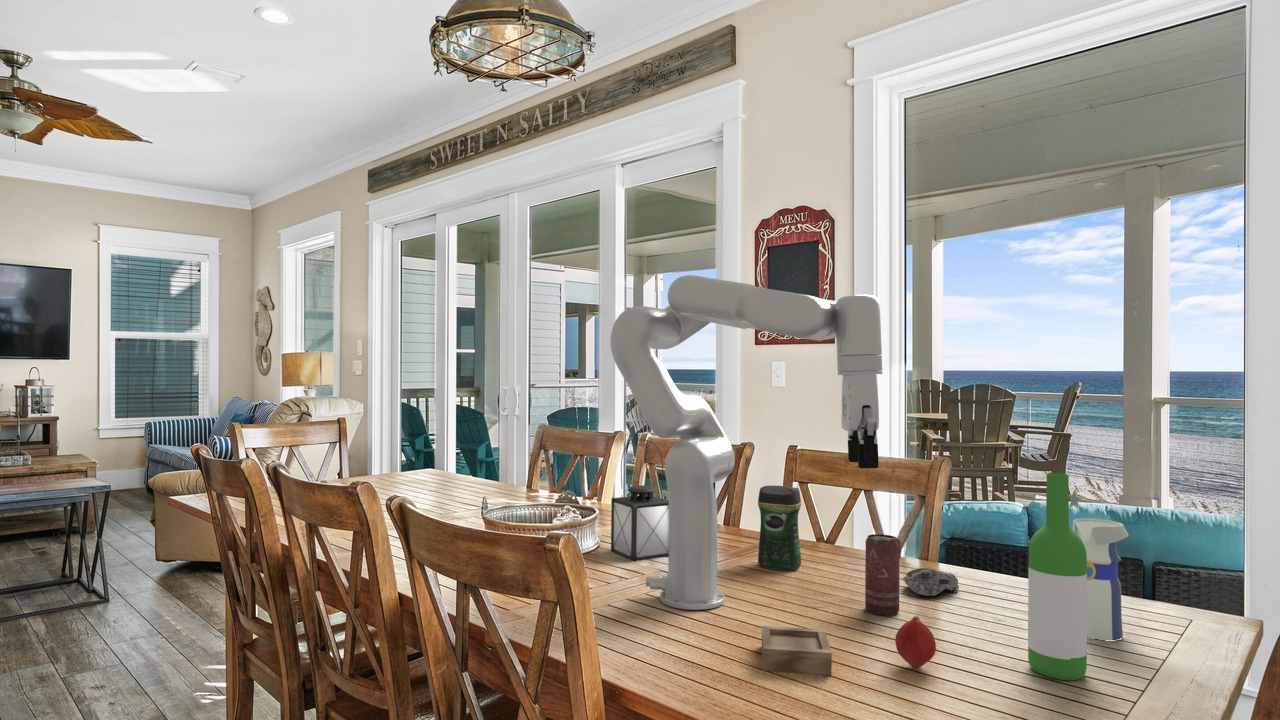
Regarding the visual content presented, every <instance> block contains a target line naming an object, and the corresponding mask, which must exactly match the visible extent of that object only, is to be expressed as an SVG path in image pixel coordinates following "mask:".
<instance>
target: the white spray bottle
mask: <svg viewBox="0 0 1280 720" xmlns="http://www.w3.org/2000/svg"><path fill="white" fill-rule="evenodd" d="M1069 499H1070V503H1069V508H1072V507H1075V508H1076V509H1077V510H1079V508H1080V507H1079V501H1081V500H1082V499H1083V498H1082V497H1080V496H1079V495H1078V494H1077V490H1076V489H1074V490H1073V492H1072V494H1070V493H1069ZM1072 522H1073V523H1072V530H1073V531H1074V532H1075V533H1076V534H1077V535H1078V536H1079V537H1080V538H1081V540H1082V542H1083V544H1084V546H1085V549H1086V553H1087V639H1090V638H1091V640H1094V639H1099V640H1098V641H1100V640H1116V639H1120V638H1122V637H1123V638H1124V634H1123V633H1124V632H1123V618H1122V617H1123V616H1122V615H1123V614H1122V586H1121V582H1120V580H1119V562H1121V561H1122V559H1121V557H1120V556H1119V554H1118V550H1117V545H1118V544H1117V543H1118V542H1120V541H1122V540H1124V539H1126V538H1128V537H1129V533H1128V531H1127V530H1126V528H1125V525H1124V524H1123V523H1122V522H1118V521H1114V520H1110V519H1109V520H1108V519H1103V518H1087V517H1086V518H1076V519H1074V520H1073V521H1072Z"/></svg>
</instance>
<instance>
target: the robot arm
mask: <svg viewBox="0 0 1280 720" xmlns="http://www.w3.org/2000/svg"><path fill="white" fill-rule="evenodd" d="M667 302H668V306H666V307H665V308H657V307H652V306H645V305H643V306H640V305H639V306H632V307H629V308H627V309H625V310H623V311H622V312H621V313H620V314H619V315H618V316H617V318H616V319H615V321H614V323H613V325H612V329H611V333H610V350H611V355H612V358H613V361H614V362H615V365H616V366H617V369H618V371H619V372H620V374H621V376H622V378H623V379H624V381H625V382H626V384H627V386H628V388H629V390H630V391H631V394H632V397H633V398H634V400H635V402H636V404H637V406H638V408H639V410H640V413H642V415H643V417H644V419H645V422H646V423H647V425H648V427H649V428H650V430H651V431H652V433H653V434H654V435H655V436H657V437H658V438H662V439H676V438H679V440H680V441H679V442H677V443H675V444H674V445H673V446H672V447H671V448H670V449H669V450H668V452H667V454H666V457H665V461H664V475H665V481H666V486H667V494H668V495H667V497H668V499H667V500H668V501H669V551H668V559H667V560H668V561H667V562H668V563H667V564H668V565H667V569H668V570H667V571H668V572H667V574H666V575H661V577H655V576H646V578H645V587H650V590H661V592H660V594H659V600H660V602H661V603H662V604H664V605H666V606H668V607H672V608H675V609H679V610H680V609H681V610H686V611H687V610H689V611H690V610H691V611H703V610H710V609H715V608H718V607H720V606H723V604H724V603H725V601H726V600H725V594H724V592H722V591H721V590H718V588H717V587H718V584H717V583H718V504H717V502H718V501H717V497H716V494H715V488H714V487H715V486H714V483H717V482H719V481H722V480H725V479H726V478H727V477H728V476H729V475H730V474H732V472H733V470H734V467H735V464H736V463H735V462H736V457H735V455H736V454H735V451H734V448H733V446H732V444H731V442H730V440H729V438H728V437H727V435H726V433H725V431H724V429H723V428H722V425H721V424H720V422H719V421H718V419H717V417H716V414H715V413H714V411H713V410H712V408H711V406H710V405H709V403H708V402H707V401H706V400H705V399H704V398H703V397H702V396H701V395H700V394H698V393H696V392H694V391H691V390H680V389H679V388H678V387H677V385H676V383H675V382H674V381H673V379H672V377H671V375H670V373H669V372H668V368H666V366H665V365H664V363H663V362H662V361H661V360H660V359H659V358H658V357H657V356H656V354H655V353H654V351H653V350H655V349H656V350H668V349H669V350H670V349H672V348H674V347H677V346H678V345H680V344H682V343H683V342H685V341H686V340H688V339H689V338H691V337H693V336H694V335H695V334H697V333H698V332H700V331H701V330H702V329H704V328H705V327H706V326H708V325H709V324H711V323H712V324H717V325H723V326H728V327H731V328H736V329H737V328H738V329H742V330H743V329H744V330H746V329H747V330H748V329H752V330H757V331H763V332H767V333H774V334H778V335H782V336H788V337H793V338H798V339H805V340H811V341H825V340H826V341H827V340H831V339H836V340H835V341H836V361H837V363H836V365H837V376H842V383H841V428H842V429H843V431H844V430H845V431H846V432H847V433H848V434H847V437H848V438H847V455H848V456H847V457H848V458H847V459H848V462H850V463H857V466H858V468H859V469H878V468H879V464H880V463H879V444H878V437H877V436H878V435H877V431H878V430H879V428H880V427H879V426H880V412H879V411H880V408H879V405H880V404H879V394H878V393H879V391H878V387H879V385H878V377H877V375H883V355H882V354H883V353H882V352H883V350H882V348H883V347H882V327H881V326H882V323H881V321H882V320H881V304H880V300H879V298H878V297H877V296H875V295H871V294H853V295H846V296H845V295H844V296H842V297H840V298H838V299H837V300H830V299H823V298H821V297H817V296H814V295H813V296H812V295H808V294H803V293H798V292H796V293H795V292H789V291H785V290H777V289H771V288H764V287H758V286H755V285H754V284H750V283H746V282H745V283H744V282H737V281H733V280H725V279H719V278H718V279H717V278H713V277H707V276H699V275H694V274H686V275H682V276H679V277H677V278H676V279H675V280H673V281H672V282H671V284H670V285H669V288H668V291H667Z"/></svg>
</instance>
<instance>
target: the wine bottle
mask: <svg viewBox="0 0 1280 720" xmlns="http://www.w3.org/2000/svg"><path fill="white" fill-rule="evenodd" d="M1069 480H1070V479H1069V475H1068V473H1065V472H1064V473H1063V472H1055V471H1054V472H1053V471H1052V472H1047V473H1046V493H1045V494H1046V497H1045V498H1046V500H1045V502H1046V503H1045V505H1046V506H1045V507H1046V510H1045V524H1044V525H1043V526H1042V527H1041V528H1040V529H1037V530H1036V532H1035V533H1034V534H1033V535H1032V537H1031V538H1030V541H1029V544H1028V576H1027V577H1028V579H1027V581H1028V583H1027V585H1028V586H1027V587H1028V589H1027V591H1028V595H1027V597H1028V600H1027V601H1028V602H1027V604H1028V605H1027V609H1028V610H1027V612H1028V613H1027V617H1028V618H1027V623H1028V624H1027V646H1028V647H1027V648H1028V653H1027V655H1028V664H1029V666H1030V667H1031V669H1032V670H1033V671H1035V673H1038V674H1039V675H1042V676H1044V677H1047V678H1049V679H1055V680H1060V681H1076V680H1078V681H1079V680H1080V679H1082V678H1083V677H1084V676H1085V675H1086V673H1087V665H1088V664H1087V662H1088V661H1087V660H1088V659H1087V655H1088V638H1087V553H1086V549H1085V546H1084V544H1083V542H1082V540H1081V538H1080V537H1079V536H1078V535H1077V532H1076V531H1075V532H1074V531H1073V528H1071V527H1070V521H1069V520H1070V515H1069V514H1070V503H1069V502H1070V500H1069V499H1070V498H1069V494H1070V491H1069V489H1070V488H1069V484H1070V483H1069V482H1070V481H1069Z"/></svg>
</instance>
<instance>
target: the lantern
mask: <svg viewBox="0 0 1280 720" xmlns="http://www.w3.org/2000/svg"><path fill="white" fill-rule="evenodd" d="M637 441H646V442H648V443H651V444H652V445H654V446H655V448H656V449H657V450H658V453H659V455H660V460H661V471H662V473H661V474H662V476H661V478H662V481H661V483H662V491H664V465H663V462H664V461H663V458H662V454H661V451H660V449H659V448H658V446H657V445H656V444H655V443H654V442H652V441H651V440H648V439H635V440H633V441H631V442H629V443H628V444H627V445H626V446H625V447H624V449H623V452H622V454H621V455H622V456H621V460H620V483H621V488H623V473H622V472H623V471H622V469H623V458H624V453H625V451H626V449H627V448H628V446H629V445H631V444H632V443H634V442H637ZM656 491H657V489H656V488H655V487H653V486H651V485H632V486H630V487H629V488H627V492H630V493H629V494H630V495H629V496H621V497H619V496H618V497H611V511H610V513H611V515H610V516H611V517H610V519H611V523H610V525H611V527H610V552H611V553H614V554H617V555H618V556H620V557H623V558H625V559H628V560H630V561H631V562H633V561H634V562H637V561H638V560H639V561H645V560H651V559H653V558H654V559H659V558H660V557H661V558H667V557H668V551H669V501H668V499H666V498H663V497H662V498H661V497H658V496H654V493H655V492H656Z"/></svg>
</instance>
